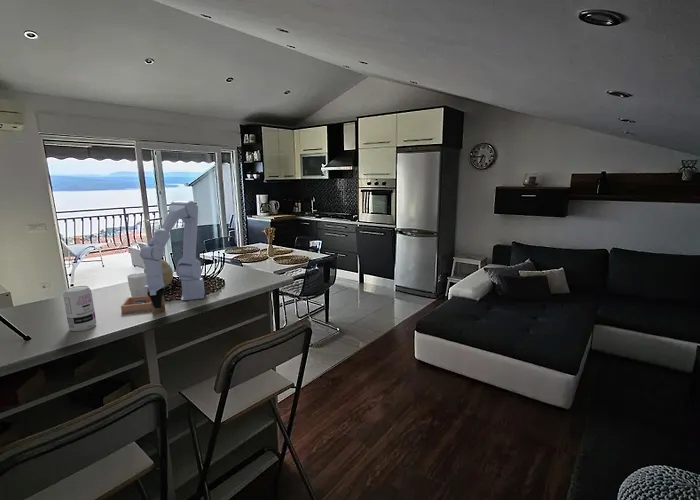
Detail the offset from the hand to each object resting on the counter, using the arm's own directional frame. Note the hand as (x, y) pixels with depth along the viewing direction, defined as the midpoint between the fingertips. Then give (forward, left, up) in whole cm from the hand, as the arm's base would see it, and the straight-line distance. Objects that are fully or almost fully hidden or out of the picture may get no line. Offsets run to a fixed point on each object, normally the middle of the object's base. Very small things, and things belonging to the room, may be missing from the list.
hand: (158, 306), depth 146 cm
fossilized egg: (+5, -36, -3) cm, 36 cm away
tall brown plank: (0, 0, -2) cm, 2 cm away
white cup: (+12, -26, -3) cm, 28 cm away
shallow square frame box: (+8, -9, -2) cm, 12 cm away
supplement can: (+24, +7, -3) cm, 25 cm away
